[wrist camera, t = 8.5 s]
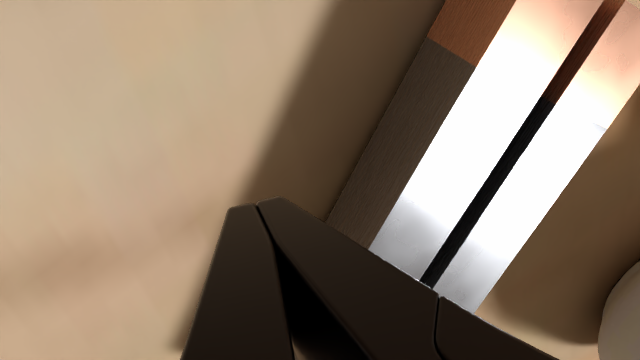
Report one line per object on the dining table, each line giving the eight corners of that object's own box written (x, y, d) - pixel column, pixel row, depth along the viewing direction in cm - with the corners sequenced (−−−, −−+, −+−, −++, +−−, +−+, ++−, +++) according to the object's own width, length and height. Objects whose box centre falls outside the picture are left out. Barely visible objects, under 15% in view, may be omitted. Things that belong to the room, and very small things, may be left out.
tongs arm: (297, 378, 21) (316, 436, 19) (242, 375, 20) (257, 436, 18) (542, -31, 15) (610, -11, 13) (483, -69, 14) (548, -54, 12)
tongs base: (301, 460, 25) (328, 549, 22) (195, 463, 23) (208, 565, 19) (595, 7, 17) (708, 45, 14) (478, -68, 14) (583, -43, 11)
